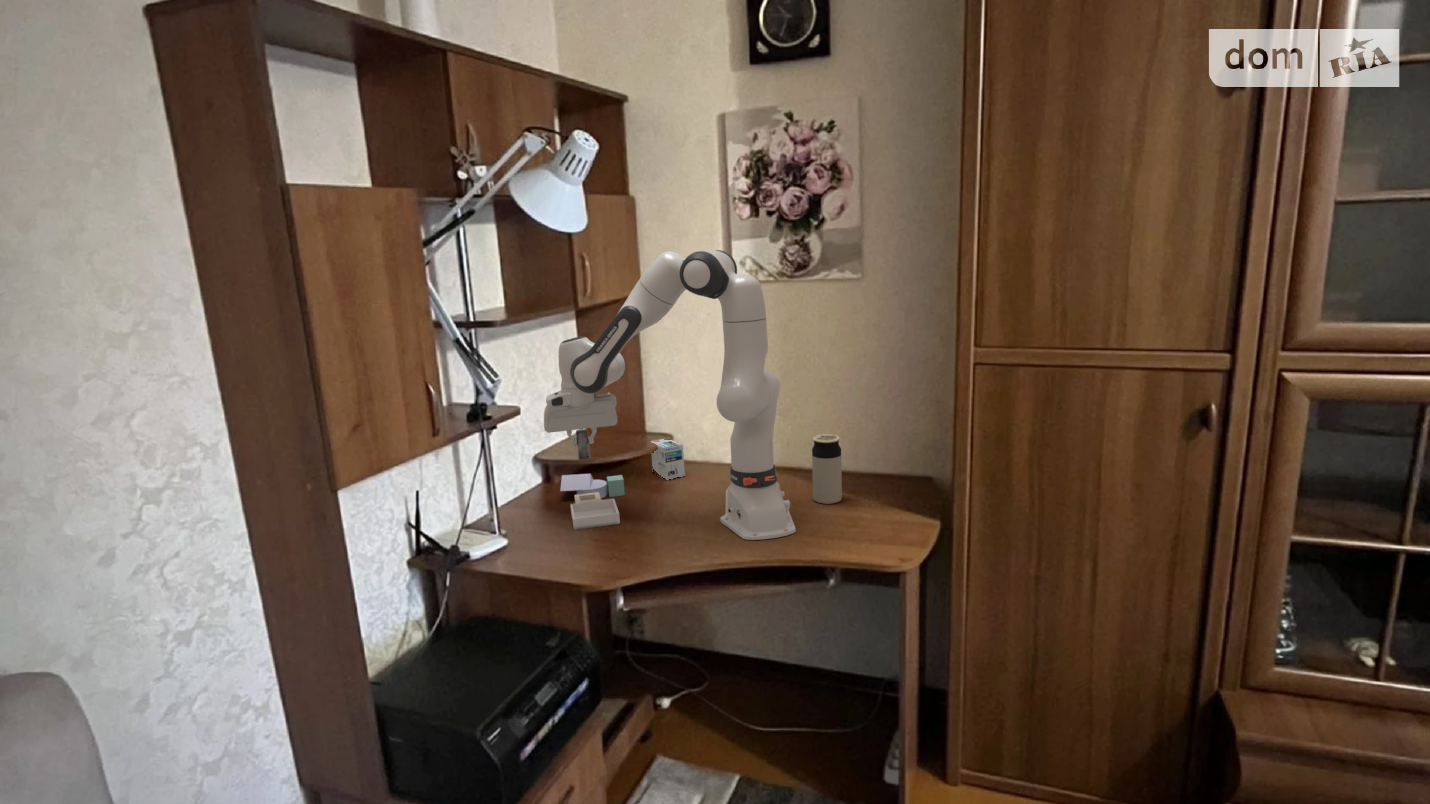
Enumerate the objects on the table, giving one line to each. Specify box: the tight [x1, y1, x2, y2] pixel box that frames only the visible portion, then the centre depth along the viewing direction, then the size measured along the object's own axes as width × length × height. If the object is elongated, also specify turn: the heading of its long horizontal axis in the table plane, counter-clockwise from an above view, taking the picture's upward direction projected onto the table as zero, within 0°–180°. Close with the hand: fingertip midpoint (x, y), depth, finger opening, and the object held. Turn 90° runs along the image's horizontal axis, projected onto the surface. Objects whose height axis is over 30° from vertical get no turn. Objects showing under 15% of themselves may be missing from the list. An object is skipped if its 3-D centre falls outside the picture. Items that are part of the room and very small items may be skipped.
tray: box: [569, 498, 621, 531], centre depth 211 cm, size 12×12×3 cm
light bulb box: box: [649, 438, 686, 481], centre depth 246 cm, size 11×7×11 cm, turn 30°
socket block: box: [574, 492, 602, 504], centre depth 220 cm, size 7×7×3 cm
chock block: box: [606, 474, 626, 498], centre depth 231 cm, size 4×4×5 cm
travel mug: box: [811, 433, 843, 505], centre depth 215 cm, size 8×8×18 cm
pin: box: [575, 428, 591, 461], centre depth 217 cm, size 3×3×8 cm
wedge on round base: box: [560, 473, 609, 499], centre depth 231 cm, size 9×7×13 cm
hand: (582, 444), depth 217 cm, fingers closed on pin, 3 cm apart
